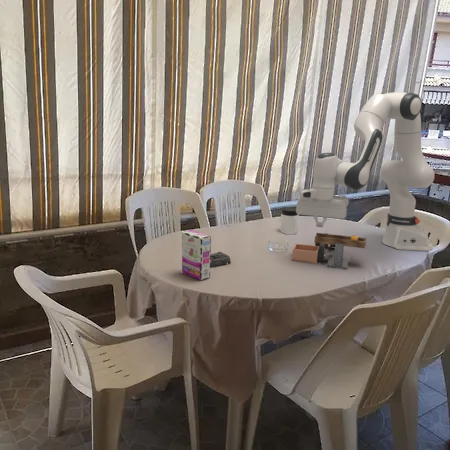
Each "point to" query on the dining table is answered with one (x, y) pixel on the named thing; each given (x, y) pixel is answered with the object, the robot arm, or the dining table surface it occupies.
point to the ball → (354, 238)
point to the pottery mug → (325, 244)
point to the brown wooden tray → (339, 240)
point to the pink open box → (305, 253)
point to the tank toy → (219, 259)
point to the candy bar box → (196, 254)
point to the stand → (334, 257)
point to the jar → (289, 221)
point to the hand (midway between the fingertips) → (319, 226)
